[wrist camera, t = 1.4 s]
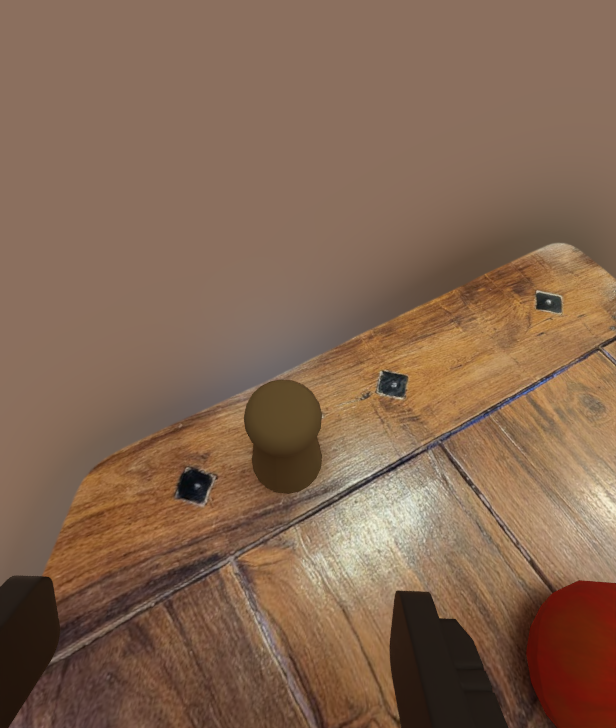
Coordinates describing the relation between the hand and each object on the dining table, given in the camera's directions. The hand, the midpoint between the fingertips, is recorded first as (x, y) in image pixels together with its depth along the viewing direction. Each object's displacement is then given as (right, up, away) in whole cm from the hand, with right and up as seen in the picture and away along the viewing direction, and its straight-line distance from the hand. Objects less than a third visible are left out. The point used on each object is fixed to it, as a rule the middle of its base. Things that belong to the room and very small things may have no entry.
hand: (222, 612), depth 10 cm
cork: (0, -2, +27) cm, 27 cm away
